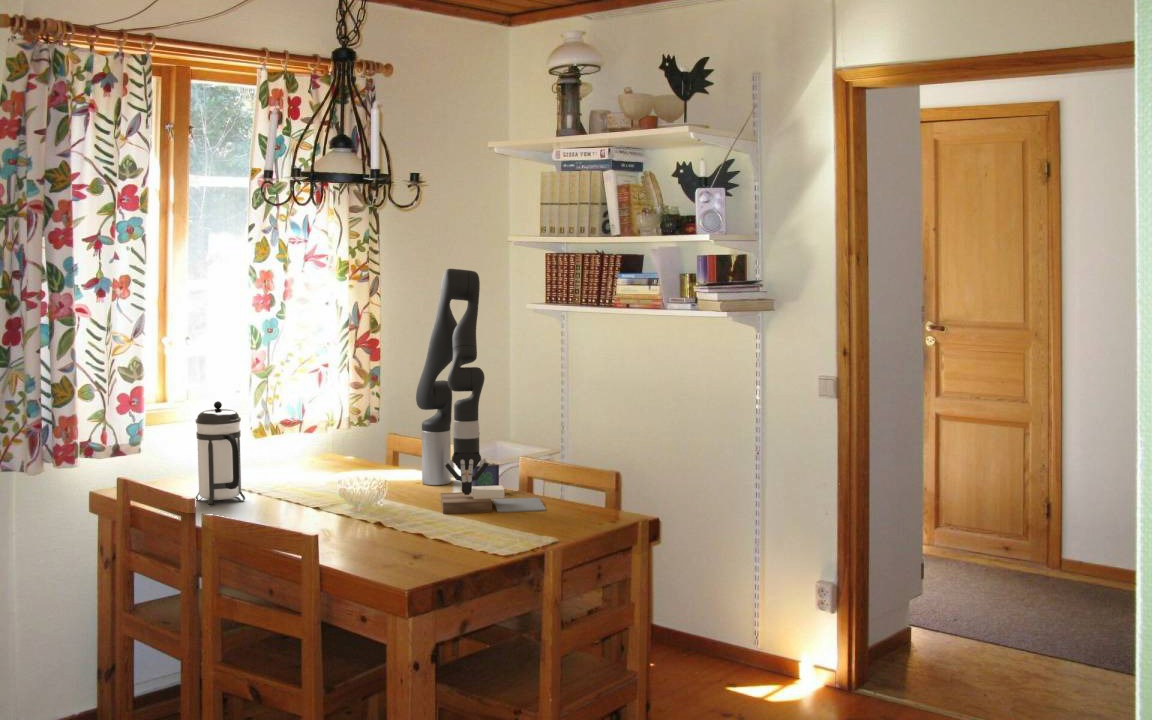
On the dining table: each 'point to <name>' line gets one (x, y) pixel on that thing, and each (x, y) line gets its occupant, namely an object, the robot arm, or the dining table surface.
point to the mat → (518, 505)
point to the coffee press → (219, 454)
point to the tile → (487, 492)
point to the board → (464, 503)
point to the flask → (487, 476)
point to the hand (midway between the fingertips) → (466, 494)
